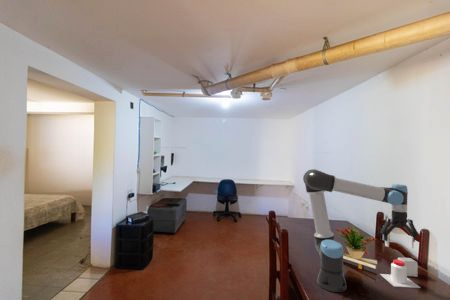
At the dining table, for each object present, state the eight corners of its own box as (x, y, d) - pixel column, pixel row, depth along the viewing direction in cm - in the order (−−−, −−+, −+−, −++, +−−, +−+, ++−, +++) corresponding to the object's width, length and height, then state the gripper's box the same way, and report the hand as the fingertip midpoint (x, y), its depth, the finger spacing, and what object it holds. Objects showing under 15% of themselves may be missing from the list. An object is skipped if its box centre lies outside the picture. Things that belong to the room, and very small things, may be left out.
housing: (403, 275, 148) (403, 261, 149) (397, 271, 154) (397, 257, 155) (417, 276, 148) (417, 262, 148) (410, 271, 154) (410, 257, 154)
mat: (394, 286, 136) (394, 286, 136) (380, 274, 149) (380, 273, 149) (420, 288, 134) (420, 287, 135) (403, 275, 148) (403, 275, 148)
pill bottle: (391, 275, 147) (391, 257, 148) (407, 279, 143) (407, 261, 143) (390, 280, 141) (390, 261, 142) (406, 285, 137) (406, 265, 137)
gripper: (381, 211, 140) (380, 248, 140) (426, 213, 138) (426, 250, 138) (374, 208, 148) (373, 243, 147) (416, 210, 146) (416, 245, 145)
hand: (398, 246), depth 143 cm, fingers open, 13 cm apart
